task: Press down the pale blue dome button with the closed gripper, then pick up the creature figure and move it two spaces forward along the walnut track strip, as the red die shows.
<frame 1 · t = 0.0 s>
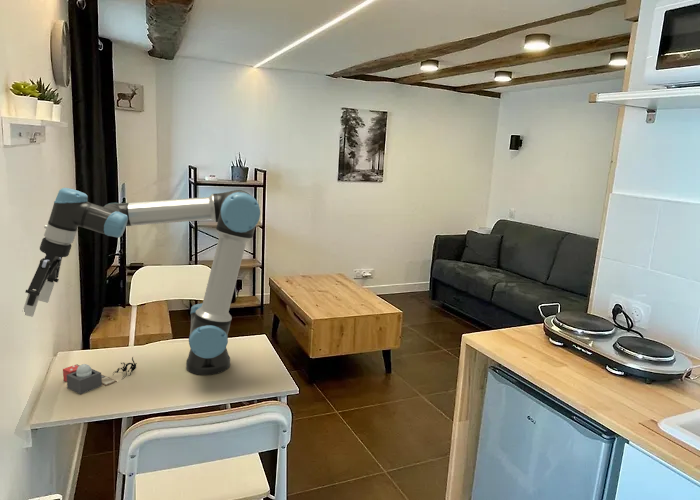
hand: (35, 308, 142), 28 cm above the table, tool tilted 20°, fingers open, 13 cm apart
dome: (83, 371, 153), point 5 cm above the table, slide at 0.0 cm
dome housing: (84, 387, 154), on the table
red die: (73, 379, 158), on the table
creature: (124, 375, 164), on the table
track strip: (90, 375, 162), on the table
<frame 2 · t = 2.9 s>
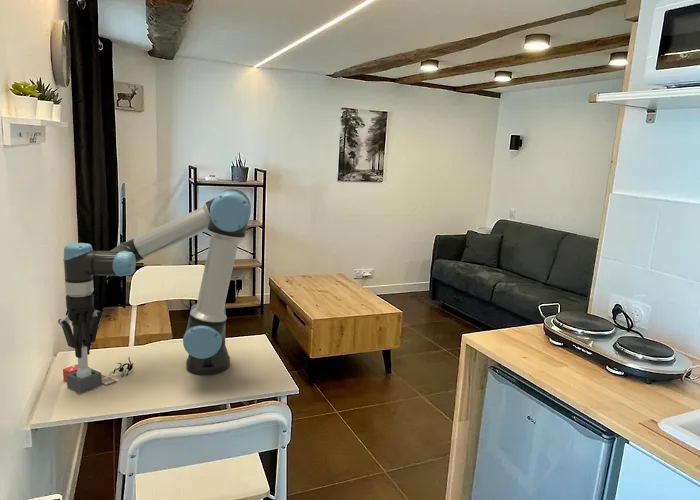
hand: (83, 365, 152), 7 cm above the table, tool pointing down, fingers closed
dome: (84, 373, 153), point 5 cm above the table, slide at 0.7 cm, touching gripper
creature: (121, 375, 163), on the table
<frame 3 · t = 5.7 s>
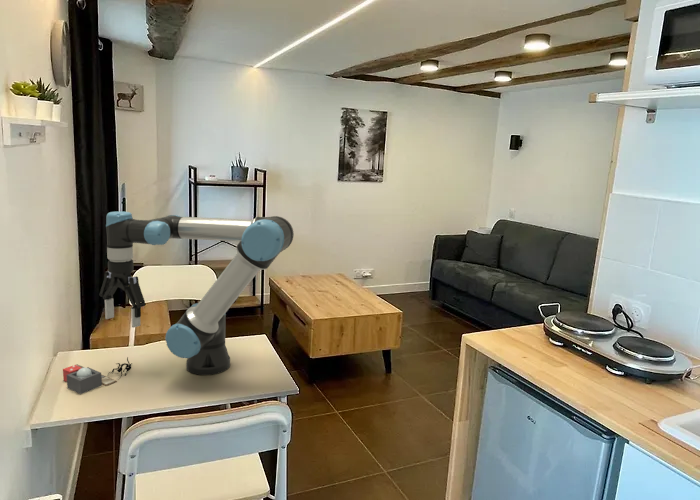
hand: (122, 322, 160), 19 cm above the table, tool pointing down, fingers open, 13 cm apart
dome: (84, 374, 153), point 4 cm above the table, slide at 1.2 cm
everything else where it was.
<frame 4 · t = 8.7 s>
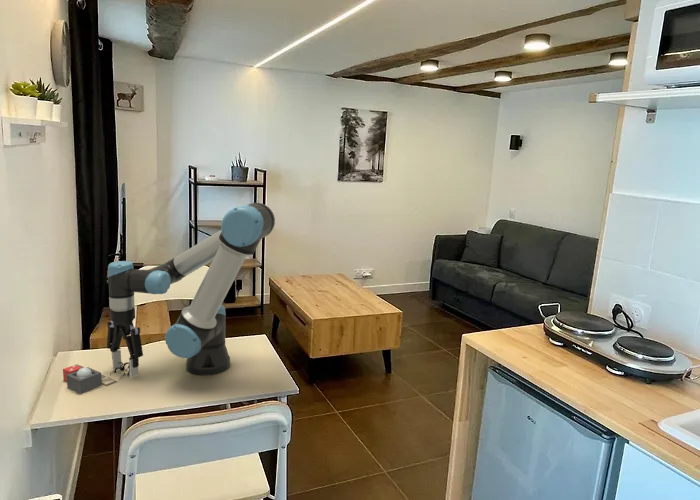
hand: (125, 372, 164), 1 cm above the table, tool pointing down, fingers closed on creature, 8 cm apart
creature: (122, 375, 163), on the table, touching gripper
everything else where it was.
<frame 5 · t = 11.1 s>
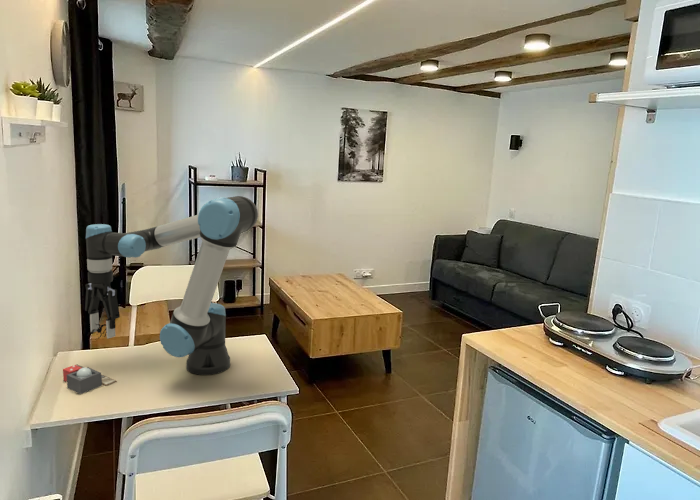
hand: (102, 334, 167), 12 cm above the table, tool pointing down, fingers closed on creature, 8 cm apart
creature: (99, 336, 166), point 11 cm above the table, touching gripper
everything else where it was.
when the fingers open (0 cm above the table, at t = 13.5 s): creature stays where it is, on the table.
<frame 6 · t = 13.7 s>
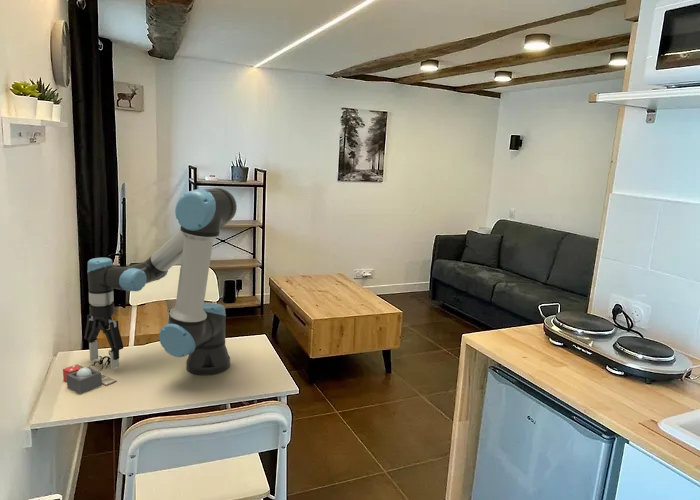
hand: (104, 363, 169), 1 cm above the table, tool pointing down, fingers open, 11 cm apart
creature: (100, 368, 168), on the table
everything else where it was.
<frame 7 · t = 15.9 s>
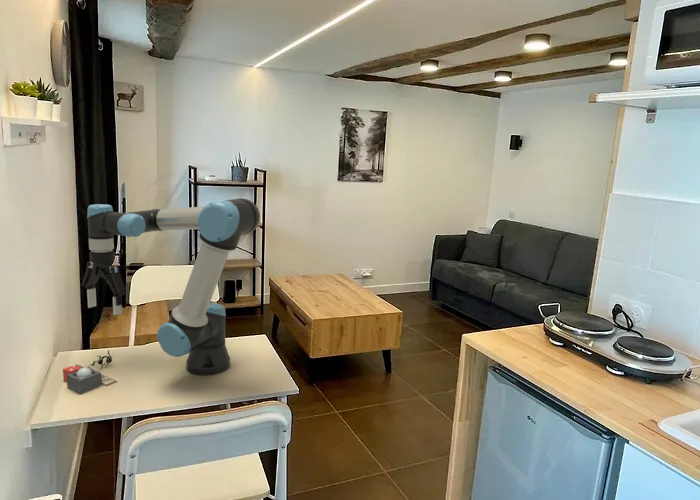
hand: (104, 310, 167), 20 cm above the table, tool pointing down, fingers open, 13 cm apart
nothing on the table moved.
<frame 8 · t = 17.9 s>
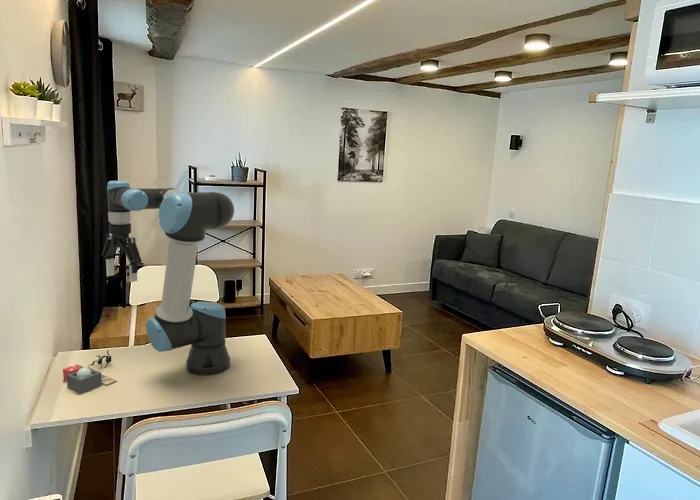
hand: (121, 278, 183), 27 cm above the table, tool pointing down, fingers open, 13 cm apart
nothing on the table moved.
at the end: creature 1.4 cm from the target spot, on the table; creature tilted 0°; dome slide at 1.2 cm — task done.
